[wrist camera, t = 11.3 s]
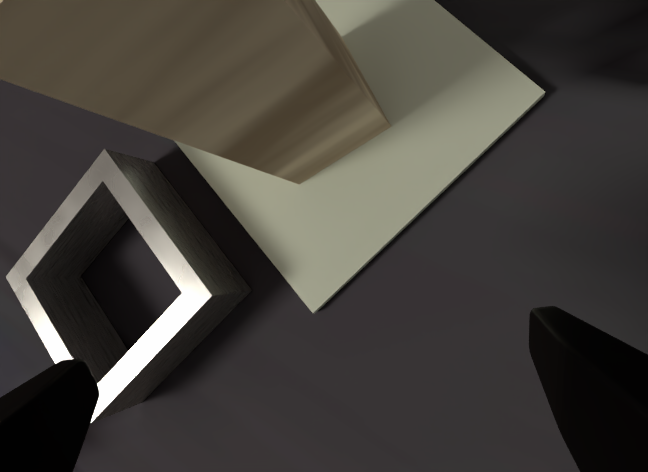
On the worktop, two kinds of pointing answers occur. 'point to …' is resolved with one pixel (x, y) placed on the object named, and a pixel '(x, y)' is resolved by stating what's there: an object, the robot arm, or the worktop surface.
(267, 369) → the worktop surface
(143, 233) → the collar
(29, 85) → the block
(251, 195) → the mat
